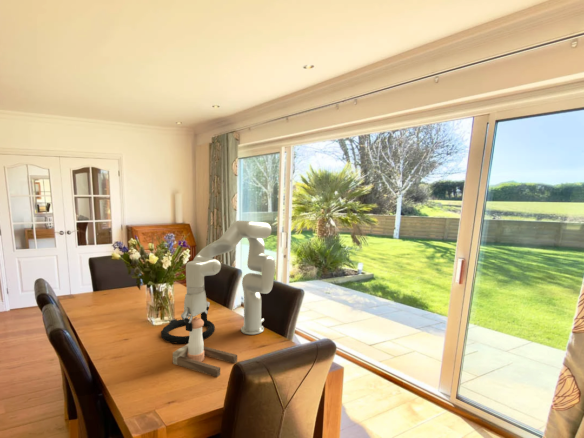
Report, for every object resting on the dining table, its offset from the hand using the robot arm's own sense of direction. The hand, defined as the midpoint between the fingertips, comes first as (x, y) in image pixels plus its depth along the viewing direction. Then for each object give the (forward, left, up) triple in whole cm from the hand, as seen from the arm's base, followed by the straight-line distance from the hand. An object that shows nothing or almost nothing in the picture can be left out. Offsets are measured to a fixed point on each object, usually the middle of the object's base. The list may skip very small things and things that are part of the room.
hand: (196, 326), depth 142 cm
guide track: (+1, +5, -15) cm, 16 cm away
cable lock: (-20, -25, -16) cm, 36 cm away
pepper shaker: (0, 0, -15) cm, 15 cm away
